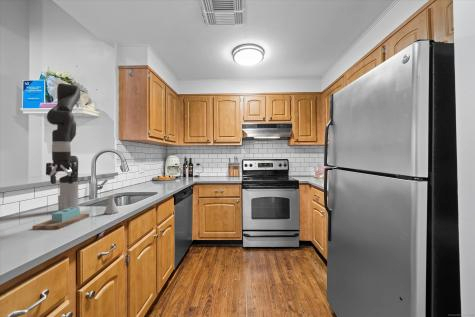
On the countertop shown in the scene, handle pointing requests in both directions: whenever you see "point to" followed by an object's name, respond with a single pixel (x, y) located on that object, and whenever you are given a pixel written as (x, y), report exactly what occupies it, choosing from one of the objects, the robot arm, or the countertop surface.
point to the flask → (111, 206)
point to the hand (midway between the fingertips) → (62, 183)
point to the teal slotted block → (65, 214)
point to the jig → (59, 223)
